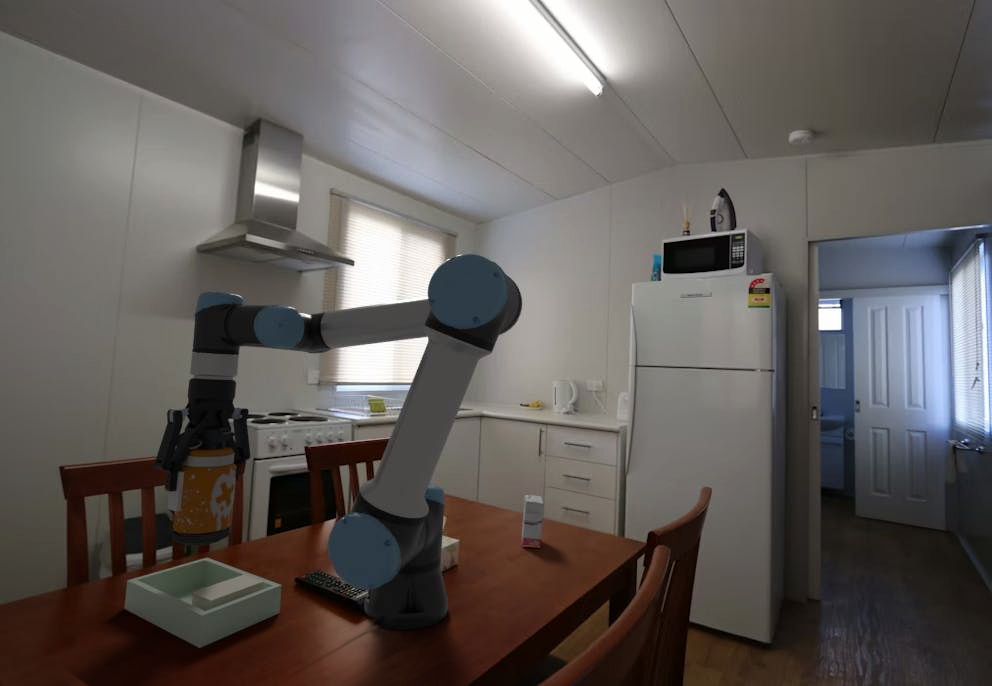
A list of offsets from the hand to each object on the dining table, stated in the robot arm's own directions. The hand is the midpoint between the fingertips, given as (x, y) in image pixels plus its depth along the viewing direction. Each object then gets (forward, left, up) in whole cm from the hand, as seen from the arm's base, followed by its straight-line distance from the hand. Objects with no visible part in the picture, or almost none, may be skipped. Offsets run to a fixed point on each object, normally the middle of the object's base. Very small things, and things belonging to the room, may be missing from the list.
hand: (201, 504), depth 90 cm
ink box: (-32, -72, -19) cm, 81 cm away
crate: (-3, 0, -18) cm, 19 cm away
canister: (0, 0, -6) cm, 6 cm away
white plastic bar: (-10, 0, -17) cm, 20 cm away
